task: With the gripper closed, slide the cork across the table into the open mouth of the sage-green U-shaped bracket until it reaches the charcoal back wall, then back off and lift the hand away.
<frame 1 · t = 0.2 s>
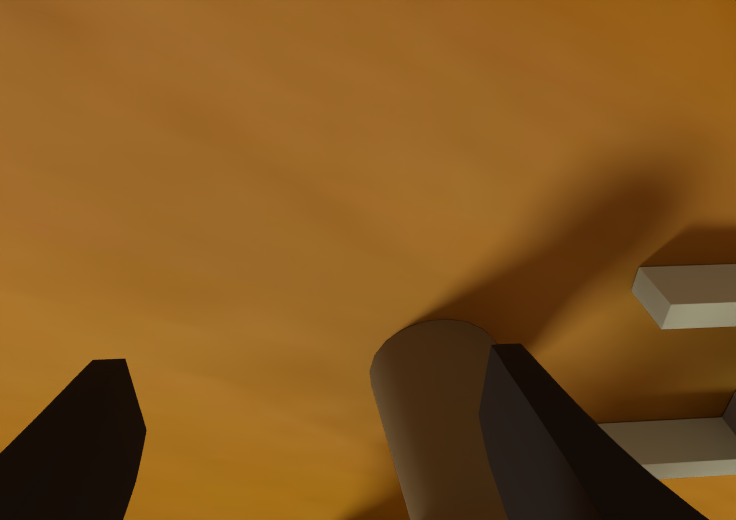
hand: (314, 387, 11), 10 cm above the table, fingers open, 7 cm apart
cork: (435, 367, 25), on the table
chute bracket: (668, 360, 26), on the table
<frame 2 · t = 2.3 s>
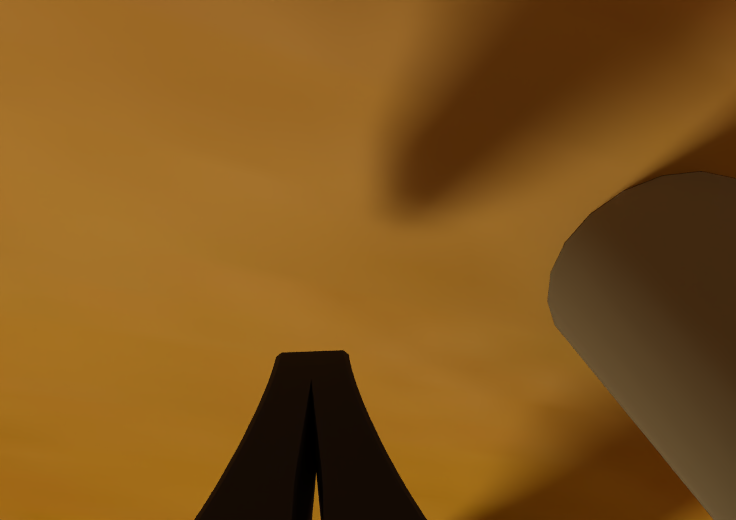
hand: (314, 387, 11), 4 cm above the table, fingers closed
cork: (654, 270, 15), on the table
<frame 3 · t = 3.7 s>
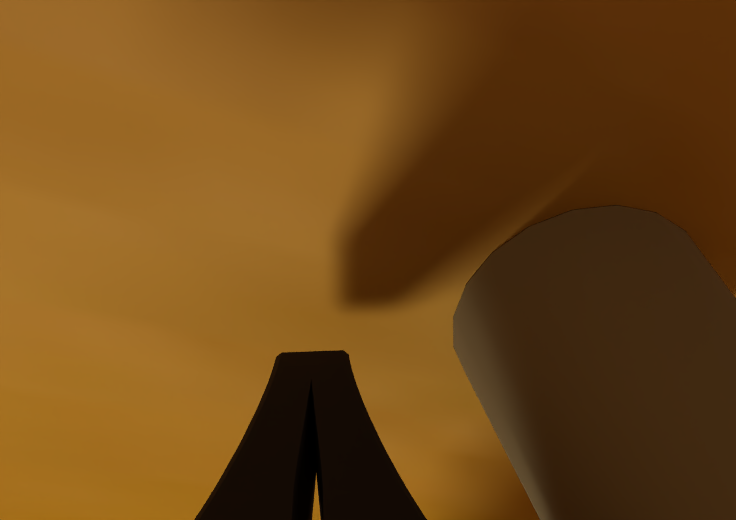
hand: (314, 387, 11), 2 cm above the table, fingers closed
cork: (573, 312, 13), on the table
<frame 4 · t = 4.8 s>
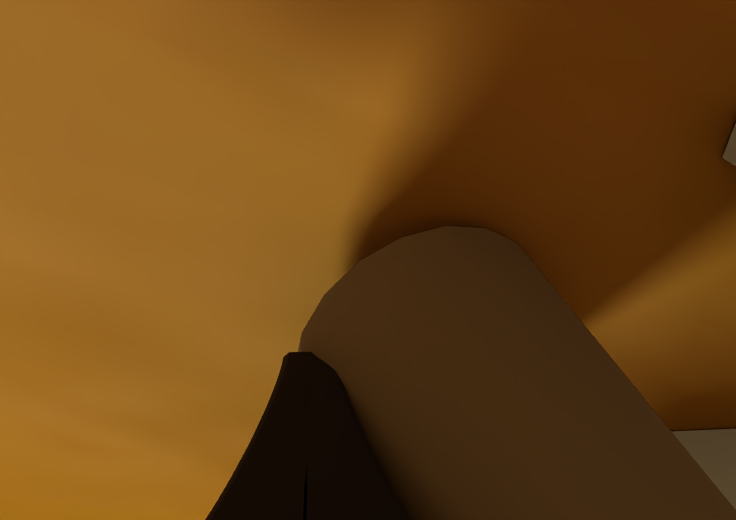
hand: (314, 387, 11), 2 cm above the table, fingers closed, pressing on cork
cork: (422, 340, 13), point 1 cm above the table, touching gripper
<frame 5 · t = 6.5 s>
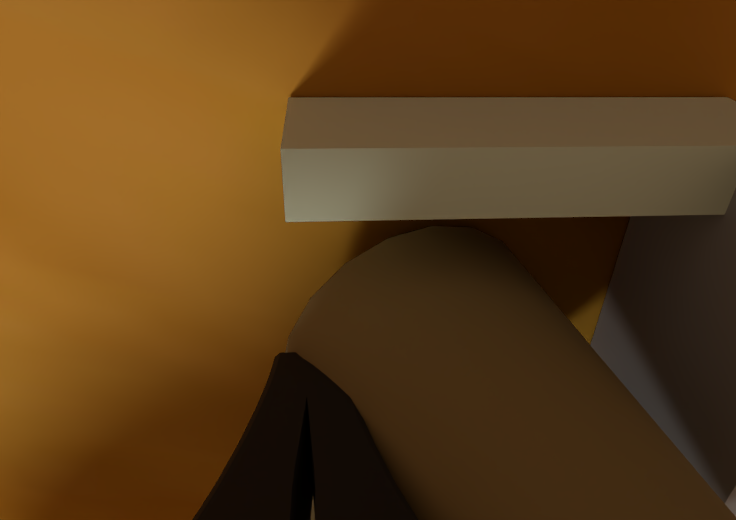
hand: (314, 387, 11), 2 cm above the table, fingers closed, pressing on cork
cork: (409, 340, 13), point 1 cm above the table, touching gripper
chute bracket: (428, 323, 13), on the table
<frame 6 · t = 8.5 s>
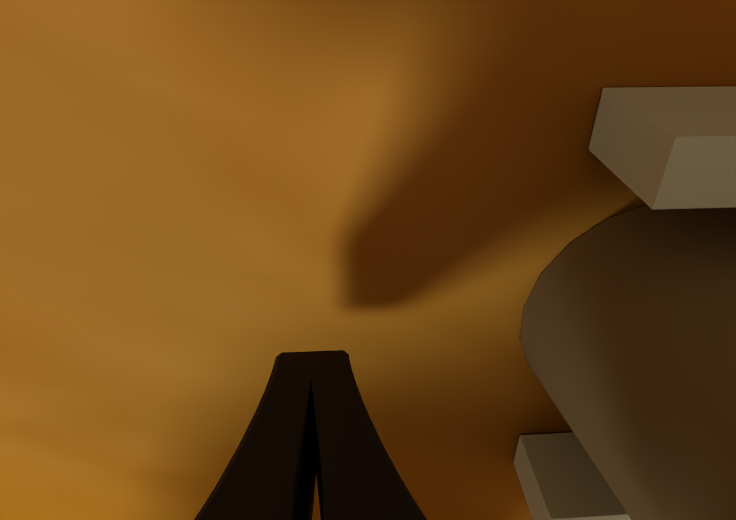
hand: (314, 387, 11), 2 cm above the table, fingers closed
cork: (640, 306, 14), on the table
chute bracket: (669, 312, 13), on the table
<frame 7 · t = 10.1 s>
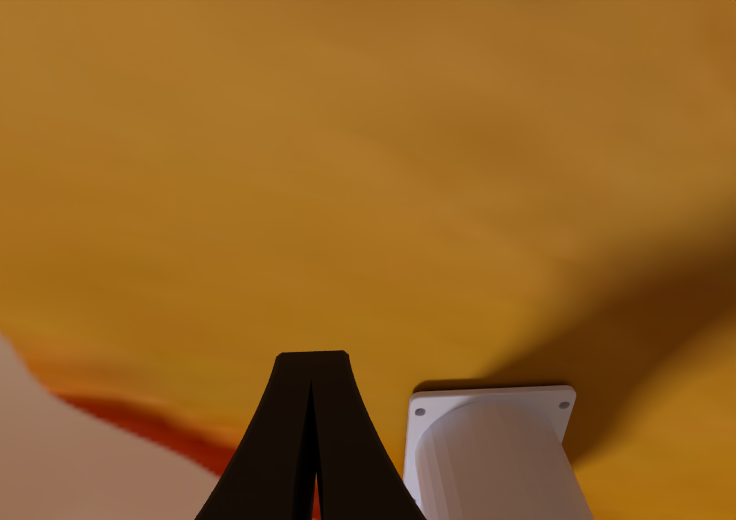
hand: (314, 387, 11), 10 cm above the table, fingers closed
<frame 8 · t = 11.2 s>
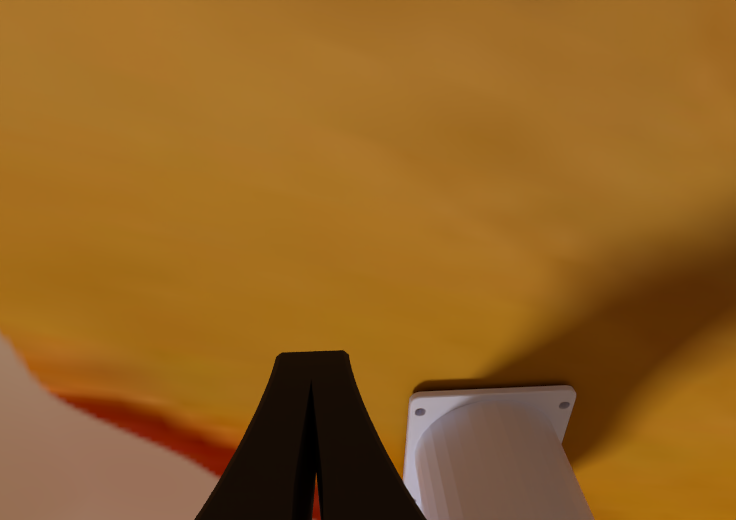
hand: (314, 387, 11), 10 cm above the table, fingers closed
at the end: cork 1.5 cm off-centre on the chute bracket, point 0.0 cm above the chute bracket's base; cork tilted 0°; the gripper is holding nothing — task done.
